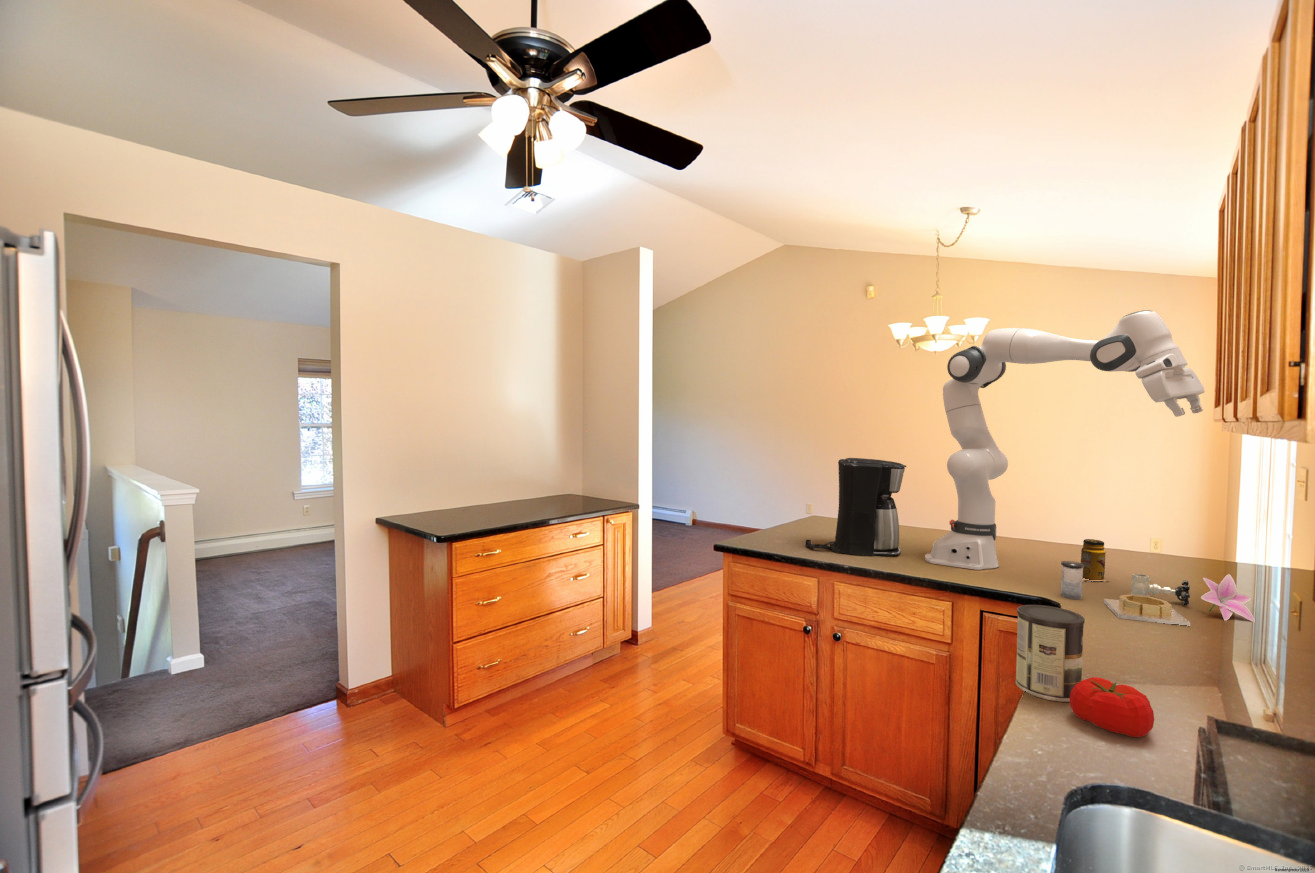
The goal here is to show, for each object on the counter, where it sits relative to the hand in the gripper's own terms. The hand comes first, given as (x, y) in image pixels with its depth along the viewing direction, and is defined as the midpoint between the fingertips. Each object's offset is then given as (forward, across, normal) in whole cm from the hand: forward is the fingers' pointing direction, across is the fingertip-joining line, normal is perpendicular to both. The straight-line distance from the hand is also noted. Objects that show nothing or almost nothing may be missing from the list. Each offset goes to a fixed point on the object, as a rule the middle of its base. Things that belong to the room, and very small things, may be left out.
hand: (1189, 414), depth 156 cm
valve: (+45, +2, -26) cm, 52 cm away
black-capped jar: (+38, +19, -37) cm, 56 cm away
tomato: (+49, +88, +5) cm, 101 cm away
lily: (+50, +1, -13) cm, 52 cm away
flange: (+44, +18, -22) cm, 53 cm away
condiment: (+37, -6, -46) cm, 59 cm away
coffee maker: (+10, +29, -101) cm, 106 cm away
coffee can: (+44, +84, -6) cm, 95 cm away
